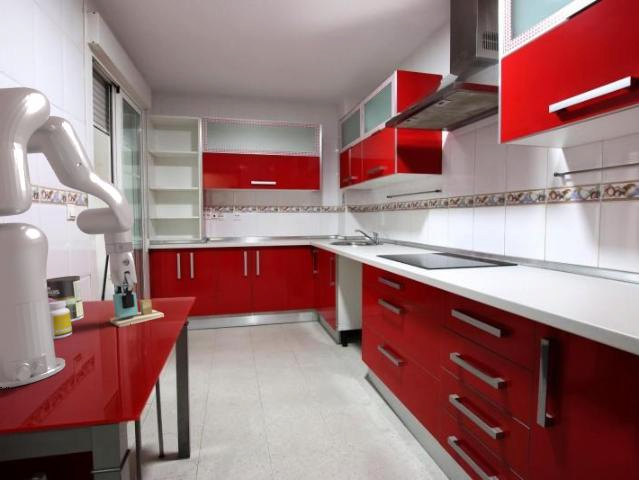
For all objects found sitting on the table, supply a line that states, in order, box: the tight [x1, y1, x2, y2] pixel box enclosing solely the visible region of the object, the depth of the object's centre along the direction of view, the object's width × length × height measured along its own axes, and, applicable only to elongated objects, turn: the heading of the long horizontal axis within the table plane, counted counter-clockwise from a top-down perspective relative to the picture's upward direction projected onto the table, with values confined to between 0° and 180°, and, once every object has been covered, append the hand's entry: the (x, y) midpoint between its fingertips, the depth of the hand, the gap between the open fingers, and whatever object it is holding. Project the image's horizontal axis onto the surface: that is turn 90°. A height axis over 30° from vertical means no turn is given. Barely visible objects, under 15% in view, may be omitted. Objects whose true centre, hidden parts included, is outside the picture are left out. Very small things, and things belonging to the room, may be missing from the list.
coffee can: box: [46, 275, 85, 323], centre depth 120 cm, size 10×10×14 cm
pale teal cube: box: [112, 291, 139, 318], centre depth 112 cm, size 5×5×7 cm
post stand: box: [109, 298, 165, 328], centre depth 114 cm, size 10×13×8 cm
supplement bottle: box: [49, 301, 73, 340], centre depth 101 cm, size 5×5×10 cm
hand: (125, 305), depth 112 cm, fingers open, 5 cm apart
